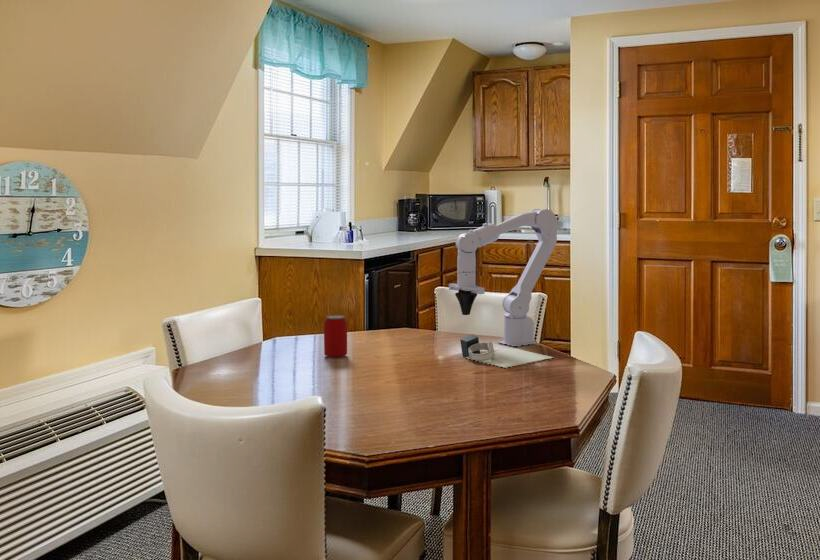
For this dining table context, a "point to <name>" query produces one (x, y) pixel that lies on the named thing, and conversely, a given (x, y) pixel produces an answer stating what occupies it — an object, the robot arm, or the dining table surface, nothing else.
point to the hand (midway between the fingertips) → (466, 314)
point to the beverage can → (335, 336)
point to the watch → (476, 348)
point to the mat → (514, 358)
